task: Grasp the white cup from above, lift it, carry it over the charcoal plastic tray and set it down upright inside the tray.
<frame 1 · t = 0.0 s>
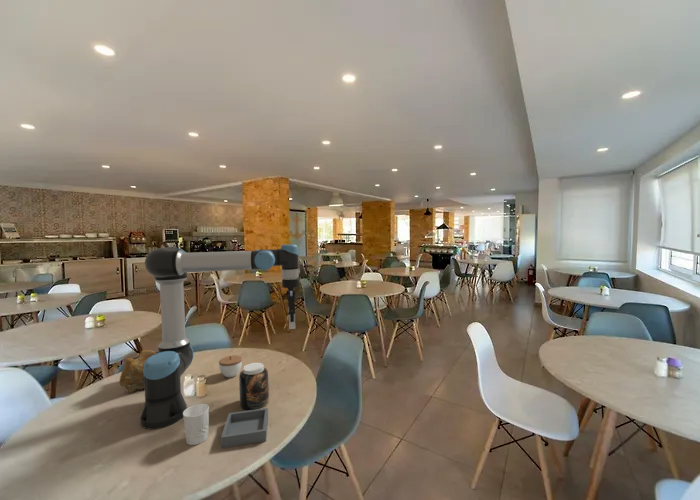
hand: (291, 324, 138), 28 cm above the table, tool pointing down, fingers open, 13 cm apart
rough brown rock: (147, 385, 142), on the table
jar: (254, 402, 125), on the table
lidded jar: (231, 375, 151), on the table
tray: (246, 431, 106), on the table
white cup: (197, 439, 103), on the table
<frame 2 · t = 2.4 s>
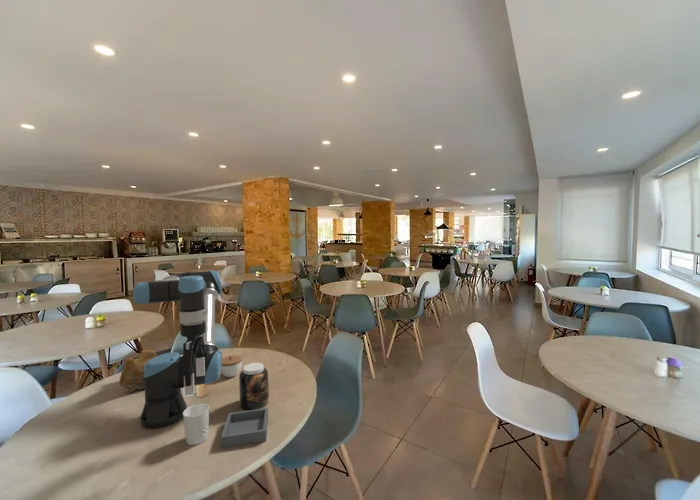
hand: (195, 384, 102), 19 cm above the table, tool pointing down, fingers open, 13 cm apart
nothing on the table moved.
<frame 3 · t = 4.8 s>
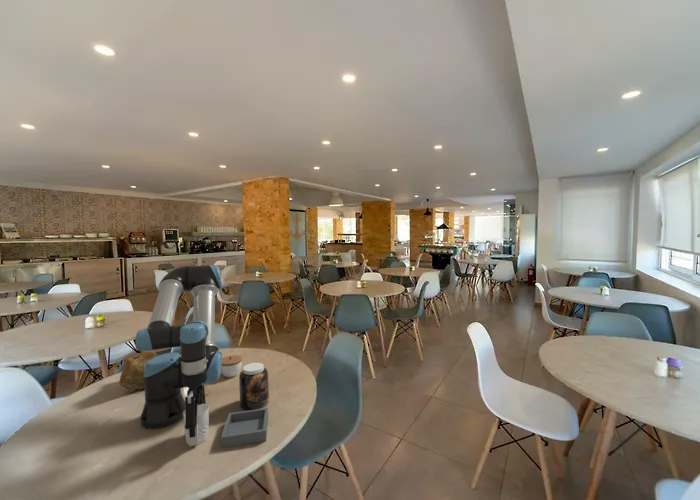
hand: (197, 436, 103), 1 cm above the table, tool pointing down, fingers closed on white cup, 7 cm apart
white cup: (197, 439, 103), on the table, touching gripper
everything else where it was.
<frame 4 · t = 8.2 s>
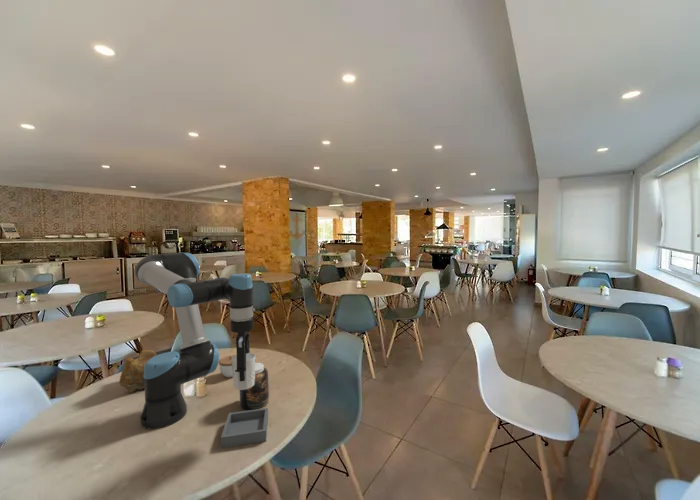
hand: (244, 383, 105), 17 cm above the table, tool pointing down, fingers closed on white cup, 7 cm apart
white cup: (244, 385, 105), point 16 cm above the table, touching gripper
everything else where it was.
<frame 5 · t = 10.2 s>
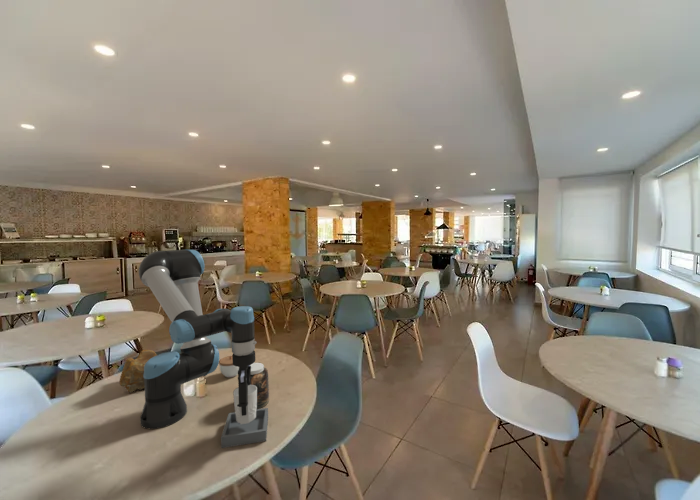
hand: (246, 416, 106), 5 cm above the table, tool pointing down, fingers closed on white cup, 7 cm apart
white cup: (246, 418, 106), point 5 cm above the table, touching gripper
everything else where it was.
when the fingers open (3 cm above the table, at t = 11.6 s): white cup drops 1 cm, resting on tray.
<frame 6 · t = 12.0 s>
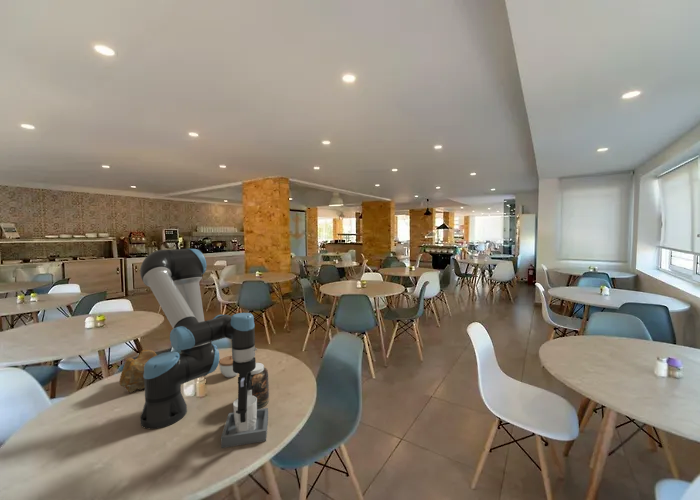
hand: (246, 418, 106), 5 cm above the table, tool pointing down, fingers open, 13 cm apart
white cup: (246, 429, 106), point 1 cm above the table, touching tray
everything else where it was.
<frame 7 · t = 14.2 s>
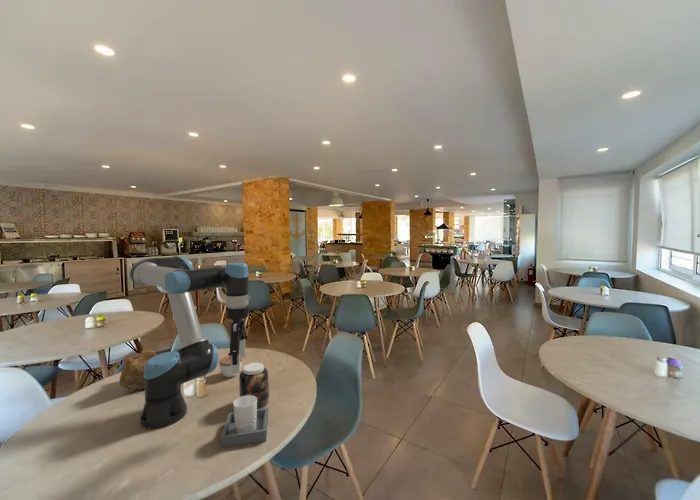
hand: (238, 364, 109), 22 cm above the table, tool pointing down, fingers open, 13 cm apart
nothing on the table moved.
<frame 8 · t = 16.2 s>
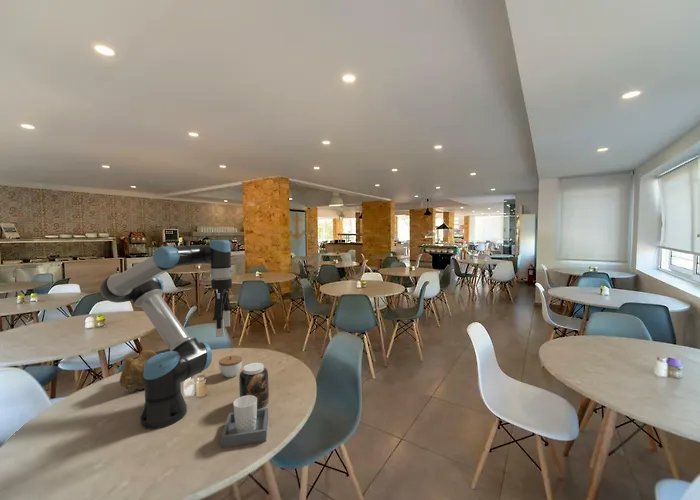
hand: (223, 331, 121), 31 cm above the table, tool pointing down, fingers open, 13 cm apart
nothing on the table moved.
at the end: white cup inside the target area on the tray (0.3 cm from its centre), point 0.8 cm above the tray's base; white cup tilted 0°; the gripper is holding nothing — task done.
